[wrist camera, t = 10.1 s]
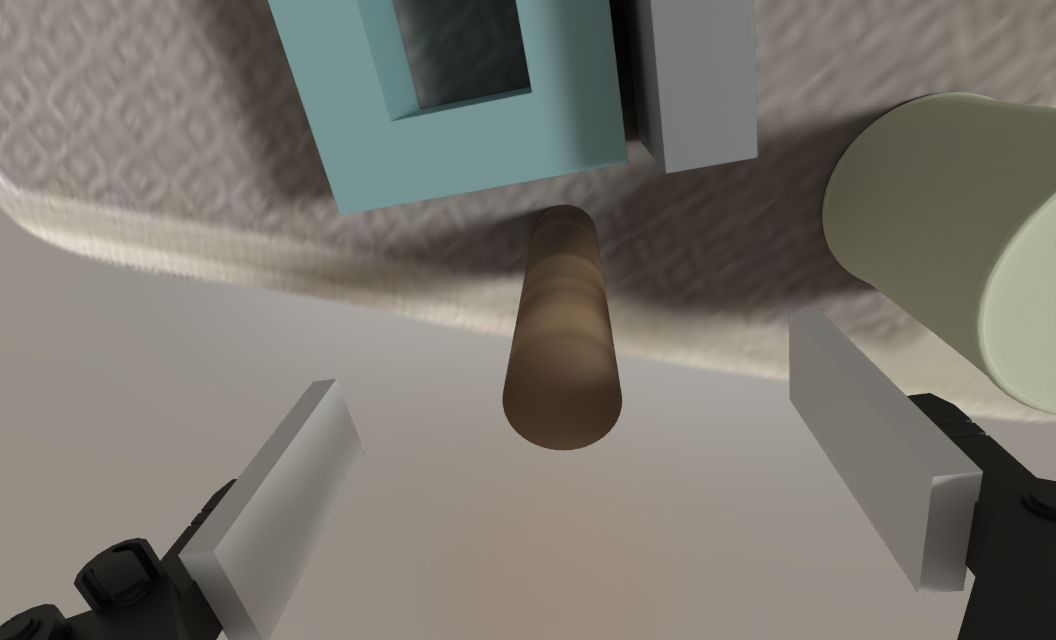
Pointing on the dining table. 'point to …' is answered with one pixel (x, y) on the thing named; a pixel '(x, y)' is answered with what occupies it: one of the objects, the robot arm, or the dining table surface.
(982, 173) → the can
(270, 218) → the dining table surface
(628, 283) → the dining table surface
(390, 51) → the block
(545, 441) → the dowel
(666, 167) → the wall
